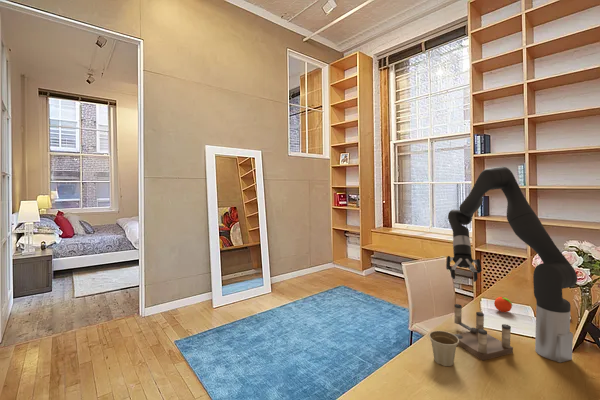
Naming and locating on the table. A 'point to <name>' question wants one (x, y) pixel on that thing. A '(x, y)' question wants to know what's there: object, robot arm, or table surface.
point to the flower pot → (443, 347)
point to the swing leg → (458, 318)
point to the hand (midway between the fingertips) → (464, 279)
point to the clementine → (503, 304)
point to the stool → (485, 341)
